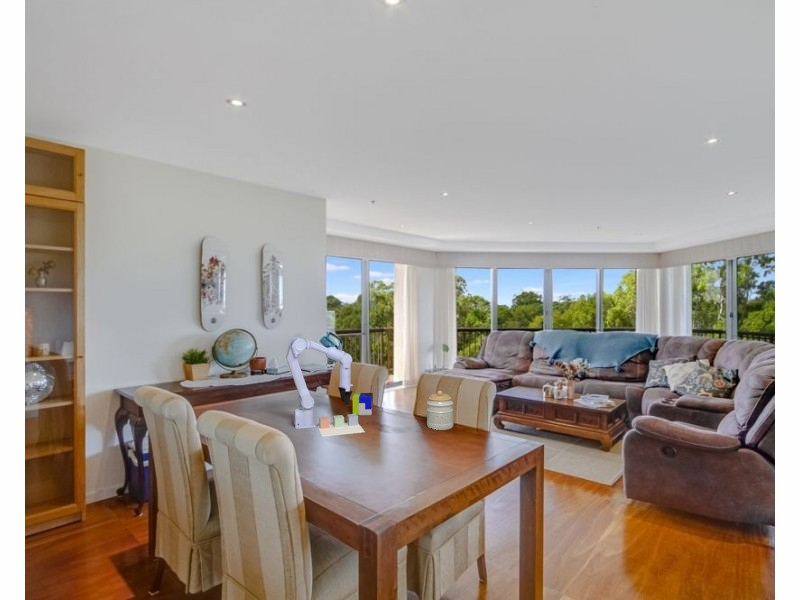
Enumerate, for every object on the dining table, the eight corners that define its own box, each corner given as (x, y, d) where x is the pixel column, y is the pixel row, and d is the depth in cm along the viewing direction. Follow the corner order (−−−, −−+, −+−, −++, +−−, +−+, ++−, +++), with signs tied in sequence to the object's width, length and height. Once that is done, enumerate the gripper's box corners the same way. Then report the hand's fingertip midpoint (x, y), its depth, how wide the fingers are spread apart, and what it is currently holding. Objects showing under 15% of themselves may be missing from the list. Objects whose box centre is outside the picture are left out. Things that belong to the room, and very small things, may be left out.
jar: (453, 422, 215) (452, 387, 215) (453, 430, 202) (453, 393, 202) (427, 422, 216) (427, 387, 216) (426, 430, 203) (426, 393, 203)
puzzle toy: (371, 415, 230) (371, 397, 230) (352, 415, 230) (352, 397, 230) (372, 410, 240) (372, 392, 240) (355, 410, 240) (354, 393, 240)
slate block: (349, 426, 210) (349, 416, 210) (347, 423, 214) (347, 414, 214) (358, 425, 211) (358, 416, 211) (356, 422, 215) (356, 413, 215)
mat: (322, 437, 194) (322, 436, 194) (317, 426, 211) (317, 425, 211) (365, 432, 200) (365, 431, 200) (356, 422, 217) (356, 421, 217)
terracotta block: (320, 429, 205) (320, 419, 205) (319, 426, 210) (319, 417, 210) (329, 428, 207) (329, 418, 207) (328, 425, 211) (328, 416, 211)
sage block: (334, 427, 208) (334, 418, 208) (333, 424, 212) (333, 415, 212) (344, 426, 209) (344, 417, 209) (342, 424, 213) (342, 415, 213)
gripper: (355, 378, 214) (355, 405, 214) (350, 373, 227) (350, 399, 227) (341, 379, 211) (341, 406, 211) (336, 374, 225) (336, 399, 225)
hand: (345, 402), depth 219 cm, fingers open, 7 cm apart
